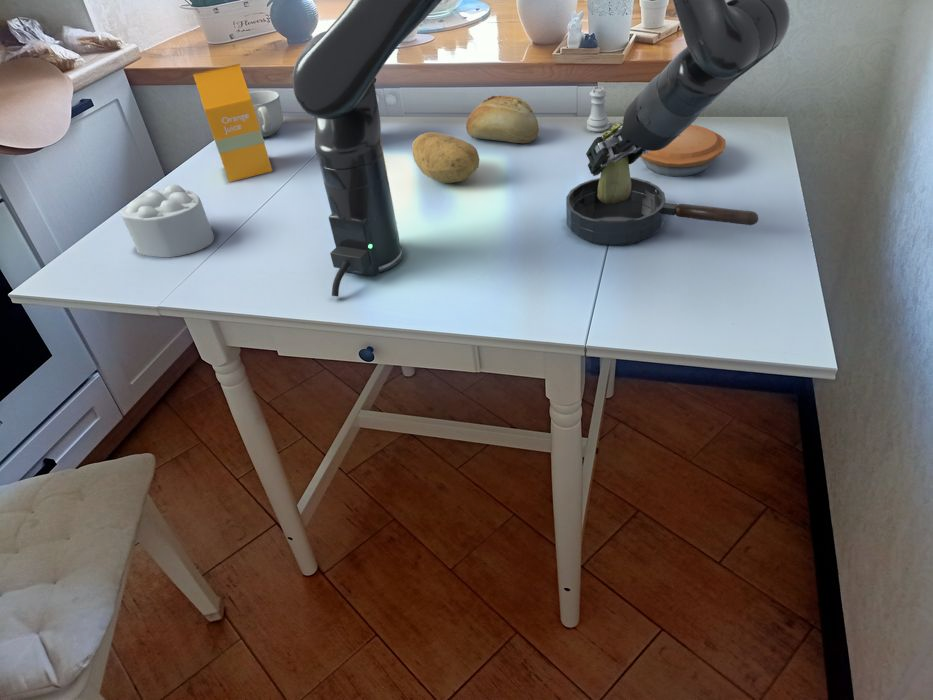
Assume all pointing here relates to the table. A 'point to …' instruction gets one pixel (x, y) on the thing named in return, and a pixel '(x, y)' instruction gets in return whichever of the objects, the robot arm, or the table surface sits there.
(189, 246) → the lumpy-topped squat cylinder
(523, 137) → the bread roll
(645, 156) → the pie
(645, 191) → the pan
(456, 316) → the table surface
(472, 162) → the potato
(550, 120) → the table surface
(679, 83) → the robot arm
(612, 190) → the fennel bulb
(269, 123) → the teacup
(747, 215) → the pan handle
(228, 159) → the orange juice
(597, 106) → the rook chess piece
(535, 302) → the table surface
